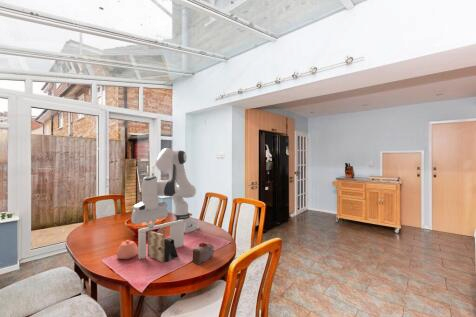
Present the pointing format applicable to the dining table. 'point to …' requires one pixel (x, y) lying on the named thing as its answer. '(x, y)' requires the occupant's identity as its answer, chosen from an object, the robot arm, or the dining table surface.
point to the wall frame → (175, 235)
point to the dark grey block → (202, 252)
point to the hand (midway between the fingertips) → (150, 228)
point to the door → (156, 246)
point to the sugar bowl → (127, 250)
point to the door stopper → (169, 250)
